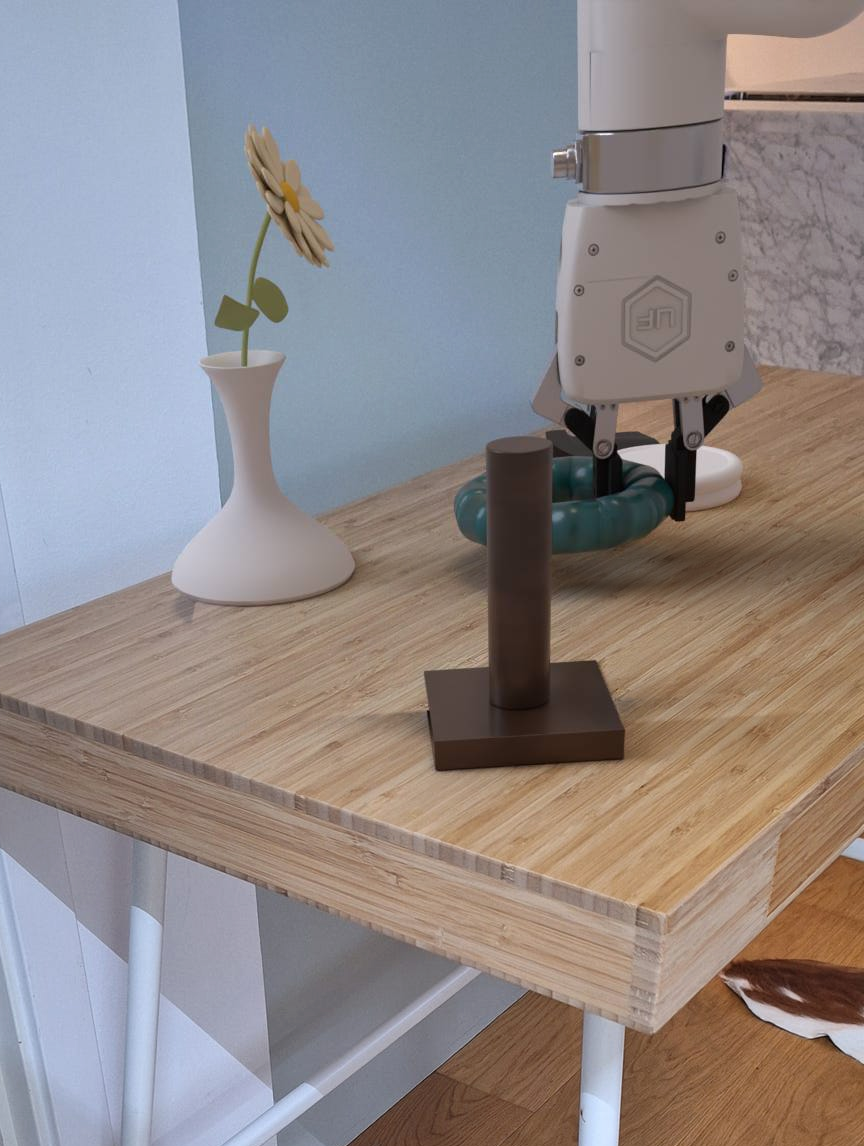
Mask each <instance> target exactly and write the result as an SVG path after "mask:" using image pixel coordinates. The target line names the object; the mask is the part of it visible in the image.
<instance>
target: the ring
mask: <svg viewBox="0 0 864 1146" xmlns="http://www.w3.org/2000/svg"><path fill="white" fill-rule="evenodd" d="M622 463H623V473H622V492H619V493H615V494H612V495H608V496H604V497H601V498H597V499H593V457H585V456H568V457H558V458H553V478H552V556H557V555H558V556H560V555H570V554H581V553H582V554H583V553H591V552H600V551H604V550H608V549H611V548H615V547H618V546H622V545H626V544H629V543H632V542H635V541H639V540H641V539H644V538H646V537H647V536H648V535H650V534H651V533H652V532H654V530H655V529H657V528H658V527H659V526H660V525H661V524H662V523H664V522H665V521H666V520H667V519H668V518H669V517H670V516H669V515H670V513H671V511H672V508H673V504H674V496H673V492H672V490H671V488H670V486H669V485H668V483H667V482H666V481H665V479H664V478H663V476H662V475H661V474H660V473H659V471H657V470H656V469H655V468H653V467H651V466H648V465H644V464H640V463H636V462H632V461H628V460H624V459H622ZM453 512H454V516H455V520H456V523H457V527H458V529H459V531H460V533H461V534H462V536H464V538H466V539H467V540H468V541H470V542H472V543H476V544H478V545H481V546H484V547H486V548H487V506H486V471H484V472H483V473H481V474H479V475H478V476H476V477H475V478H473V479H471V480H470V481H468V482H467V483H465V484H463V485H462V486H461V487H460V488H459V489H458V490H457V493H456V494H455V496H454V500H453Z"/></svg>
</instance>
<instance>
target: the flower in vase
mask: <svg viewBox="0 0 864 1146" xmlns="http://www.w3.org/2000/svg"><path fill="white" fill-rule="evenodd" d="M247 128H248V129H247V130H248V132H245V133H244V142H245V145H244V146H243V149H244V153H245V156H246V158H247V161H248V162H247V166H248V169H249V172H250V174H251V176H252V178H253V180H254V181H255V186H256V188H257V190H258V192H259V194H260V197H261V198H262V200H263V201H264V203H266V213H265V215H264V218H263V221H262V223H261V225H260V226H261V227H260V229H259V232H258V236H257V239H256V243H255V245H254V249H253V252H252V256H251V261H250V265H249V272H248V280H247V290H246V296H245V297H246V298H245V304H244V303H241V302H239V301H237V300H235V299H233V298H232V297H230V296H229V295H227V294H223V297H222V299H221V302H220V306H219V308H218V311H217V314H216V317H215V319H214V321H213V324H214V326H215V327H217V328H220V329H225V330H230V331H234V332H242V337H241V350H233V351H226V352H220V353H215V354H211V355H208V356H204V357H203V358H201V359H199V360H198V365H199V367H200V369H202V371H203V372H204V373H205V374H206V376H207V377H208V378H209V380H210V381H211V383H212V384H213V386H214V388H215V390H216V392H217V394H218V396H219V399H220V401H221V404H222V407H223V411H224V413H225V417H226V422H227V426H228V431H229V435H230V442H231V449H232V458H233V486H232V489H231V493H230V496H229V498H228V499H227V500H226V503H225V504H224V506H222V508H220V510H219V511H218V512H217V513H216V514H215V516H213V517H212V518H211V520H209V521H208V522H207V523H206V524H205V525H204V527H202V528H201V529H200V531H198V532H197V534H196V535H195V536H194V537H193V538H192V539H191V540H190V541H189V542H188V543H187V544H186V546H185V547H184V548H183V550H182V552H180V554H179V556H178V557H177V558H176V560H175V562H174V564H173V568H172V572H171V576H170V577H171V583H172V585H173V586H174V587H175V588H176V590H177V591H178V593H180V595H181V596H182V597H183V598H185V599H186V600H188V601H191V602H193V603H197V602H201V603H206V604H212V605H217V606H230V607H231V606H233V607H256V606H257V607H258V606H269V605H278V604H286V603H292V602H298V601H302V600H306V599H310V598H314V597H317V596H320V595H323V594H325V593H328V592H331V591H333V590H335V589H337V588H339V587H340V586H342V585H343V584H345V583H346V582H347V581H348V580H349V579H350V578H351V576H352V575H353V573H354V571H355V568H356V562H355V560H354V557H353V556H352V553H351V551H350V549H349V547H348V546H347V545H346V544H345V543H344V542H343V541H342V540H341V539H340V538H339V537H338V536H337V535H336V534H335V533H334V532H333V531H331V530H330V529H329V528H328V527H326V526H325V525H323V524H322V523H321V522H319V521H318V520H317V519H315V518H314V517H312V516H310V515H309V514H308V513H307V512H306V511H303V510H302V509H301V508H300V507H298V506H297V505H296V504H294V503H293V502H292V501H291V500H290V499H288V498H287V497H286V495H285V494H284V493H283V492H282V491H281V489H280V487H279V485H278V483H277V481H276V477H275V473H274V470H273V462H272V454H271V440H270V439H271V438H270V415H271V414H270V413H271V405H272V403H271V402H272V394H273V391H274V387H275V384H276V383H275V382H276V380H277V377H278V375H279V372H280V370H281V368H282V367H283V365H284V363H285V361H286V359H287V355H286V354H285V353H284V352H281V351H276V350H270V349H269V350H268V349H249V334H250V328H251V327H252V326H253V325H254V324H255V322H256V321H257V319H258V318H259V316H260V314H261V313H262V314H263V316H265V317H266V318H267V319H268V321H271V322H272V323H274V324H278V323H281V322H282V321H284V320H285V318H286V317H287V316H288V313H289V304H288V302H287V299H286V297H285V295H284V292H283V291H282V290H281V288H280V287H279V286H278V285H276V284H275V283H274V282H273V281H271V280H270V279H268V278H266V277H263V276H258V277H257V278H256V279H255V277H256V270H257V266H258V261H259V258H260V254H261V251H262V247H263V245H264V240H265V238H266V234H267V231H268V229H269V226H270V224H271V221H273V222H274V223H275V225H276V226H277V227H278V229H279V231H280V232H281V234H282V235H283V236H284V238H285V239H286V240H287V241H288V242H289V244H290V246H291V247H292V249H293V250H294V252H295V253H296V254H297V255H298V256H299V257H300V258H304V259H305V260H306V262H308V264H309V265H311V266H314V265H315V266H316V267H317V268H319V269H323V266H324V267H326V268H330V262H329V260H328V259H327V257H326V255H325V251H326V250H327V251H329V252H332V253H333V252H335V246H334V244H333V242H332V240H331V239H330V238H329V235H328V232H327V231H326V230H325V228H324V227H323V226H322V225H320V224H319V222H317V221H321V220H322V221H323V220H324V218H325V212H324V210H323V207H321V206H322V205H320V204H319V202H317V201H316V200H315V199H312V196H311V193H310V191H309V189H308V188H307V187H306V186H305V185H304V184H301V182H302V181H301V180H302V171H301V169H300V167H299V164H298V163H297V162H296V160H295V159H293V158H289V159H288V160H287V161H286V162H285V161H283V160H281V155H280V151H279V147H278V144H277V142H276V141H275V139H274V137H273V134H272V132H271V130H270V129H269V128H268V126H266V125H264V126H263V127H262V129H261V130H262V131H261V132H262V133H261V134H259V133H258V131H257V128H256V127H255V125H253V124H252V123H249V124H248V127H247ZM253 302H254V303H255V305H256V307H257V309H256V308H254V307H252V303H253ZM258 309H259V310H258Z"/></svg>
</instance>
